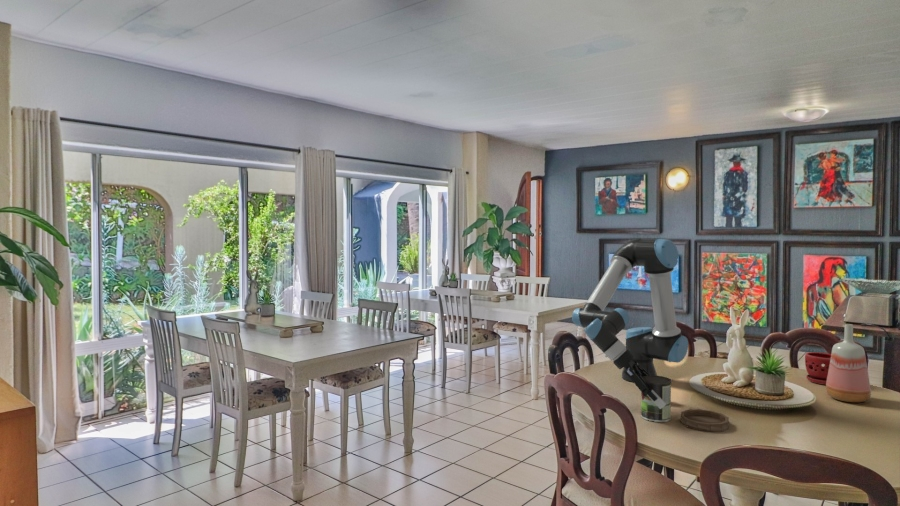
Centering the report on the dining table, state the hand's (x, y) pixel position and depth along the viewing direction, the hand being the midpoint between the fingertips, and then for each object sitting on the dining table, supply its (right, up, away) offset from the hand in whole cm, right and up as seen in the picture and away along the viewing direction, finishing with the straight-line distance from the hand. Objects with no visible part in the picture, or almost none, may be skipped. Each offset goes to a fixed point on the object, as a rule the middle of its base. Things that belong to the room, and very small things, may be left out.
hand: (664, 402), depth 201 cm
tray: (+12, -6, -5) cm, 14 cm away
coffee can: (-3, -6, +2) cm, 7 cm away
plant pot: (+85, -3, +42) cm, 95 cm away
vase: (+79, -4, +19) cm, 81 cm away
